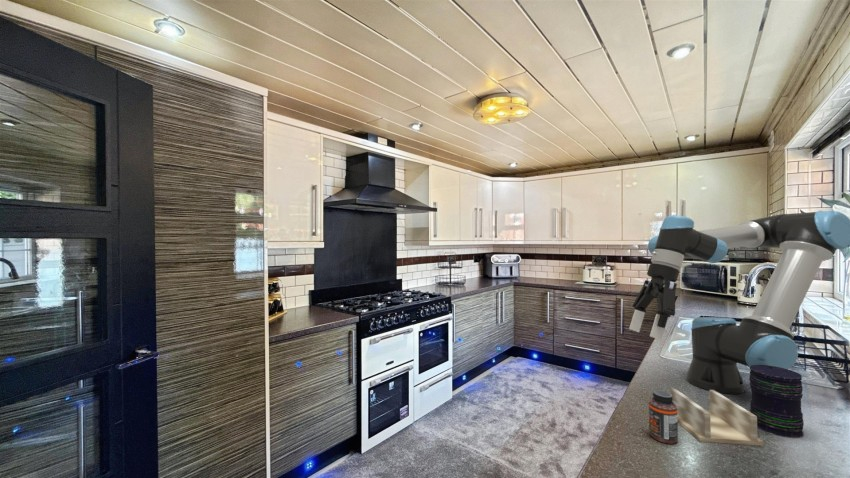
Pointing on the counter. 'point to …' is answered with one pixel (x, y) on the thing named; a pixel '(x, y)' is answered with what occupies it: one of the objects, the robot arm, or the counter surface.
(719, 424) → the docking cradle
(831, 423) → the counter surface
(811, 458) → the counter surface
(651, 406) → the supplement bottle
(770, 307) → the robot arm
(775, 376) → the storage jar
